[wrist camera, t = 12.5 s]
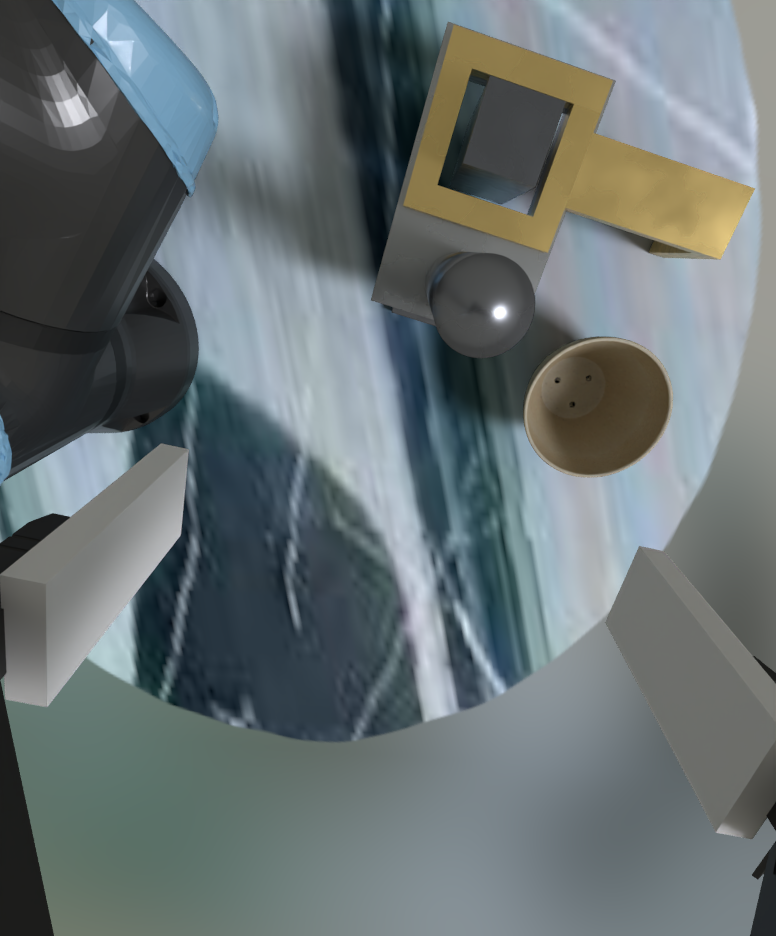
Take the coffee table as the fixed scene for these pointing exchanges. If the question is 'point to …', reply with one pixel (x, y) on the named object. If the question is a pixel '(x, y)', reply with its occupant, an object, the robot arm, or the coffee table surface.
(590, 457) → the flower pot
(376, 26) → the coffee table surface
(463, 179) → the dark grey block
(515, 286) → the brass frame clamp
